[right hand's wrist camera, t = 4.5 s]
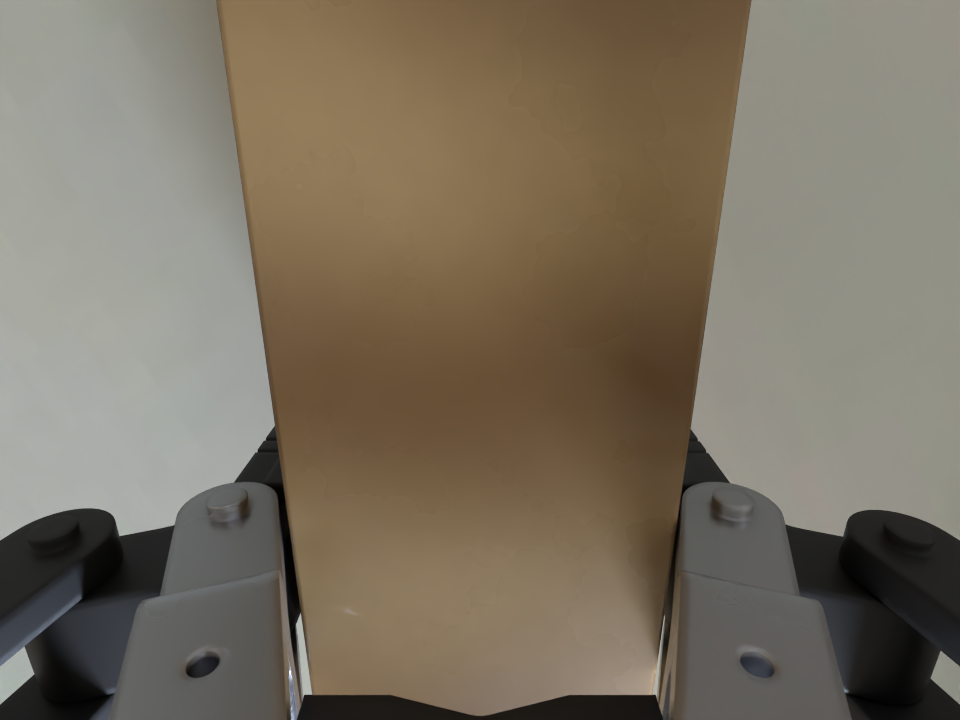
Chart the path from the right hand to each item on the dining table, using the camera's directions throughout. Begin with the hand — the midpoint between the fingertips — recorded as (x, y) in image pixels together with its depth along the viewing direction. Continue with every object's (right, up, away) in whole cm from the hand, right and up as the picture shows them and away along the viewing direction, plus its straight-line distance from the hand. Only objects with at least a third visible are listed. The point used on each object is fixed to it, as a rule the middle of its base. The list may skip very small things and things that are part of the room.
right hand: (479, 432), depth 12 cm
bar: (0, +26, -6) cm, 26 cm away
